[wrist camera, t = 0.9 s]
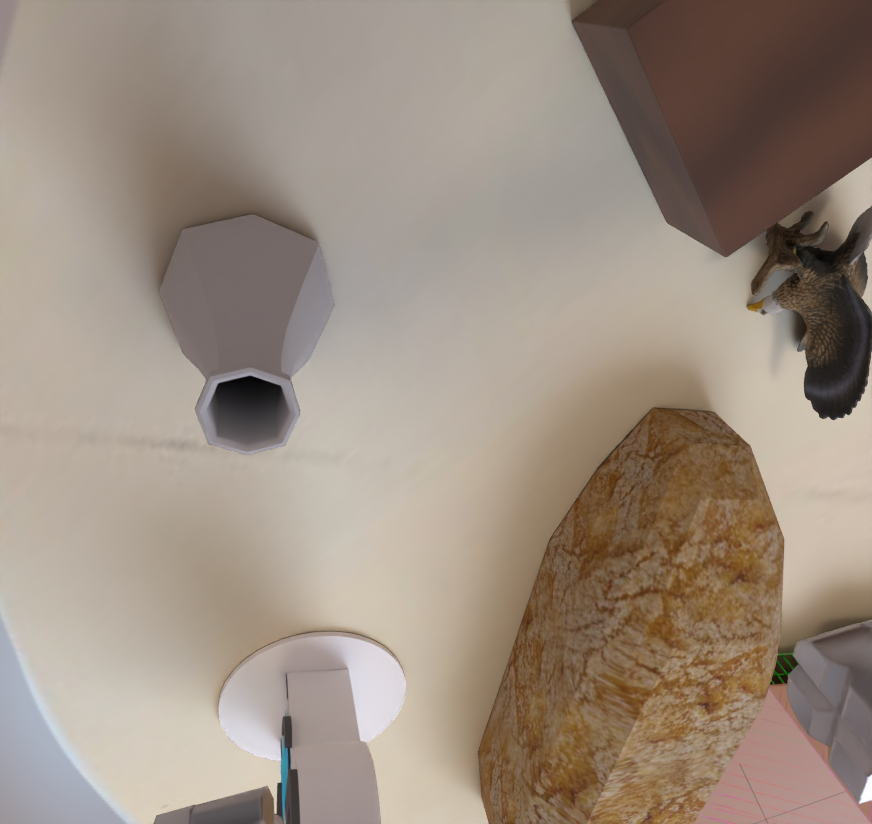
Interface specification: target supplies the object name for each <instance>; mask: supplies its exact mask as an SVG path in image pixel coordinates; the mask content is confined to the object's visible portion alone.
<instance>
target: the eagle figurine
mask: <svg viewBox="0 0 872 824" xmlns="http://www.w3.org/2000/svg"><path fill="white" fill-rule="evenodd" d="M813 214H814V212H813V211H808V212H806V213H804V215H803V216H802V218H801V220H800V222H799V223H796V224H794V225H793V226H792V227H790V228H788V229H787V228H785V227H782V226H781V225H779V224H778V223H776V224H774V225H773V226H771V227H770V228H768V229H767V235H766V241H767V243H766V244H767V246H768V248H769V256H768V257H767V259H766V261H765V262H764V264H763V265H762V267H761V269H760V270H759V272H758V273H757V275H756V276H755V278H754V279H753V281H752V283H751V289H752V294H753V295H758V294H759V292H760V290H761V288H762V287H763V286H764V285H765V283H766V282H767V280H768V278H769V276H770V274H771V273H772V272H773V271H775V270H780V269H786V270H789V271H790V272H796V273H794V274H793V275H792V276H791V277H790V278H788V279H787V280H786V281H785V282H784V283H782V284H781V285H780V286H779V287H778V289H777V290H775V291H774V292H773V293H772V294H771V295H769V296H767V297H765V298H764V299H762V300H761V301H760V302H758V303H755V304H752V305H748V306H747V308H748V310H751V311H756V312H760V313H761V314H762V315H769V314H774V313H777V312H781V311H785V310H790V309H792V310H796V311H797V312H799V313H800V314H801V315H802V317H803V319H804V321H805V323H806V325H807V331H806V333H805V335H804V336H803V338H802V341H801V342H800V344H799V346H798V349H797V351H798V352H801V351H802V350H803V349H804V350H805V354H806V359H807V364H808V367H807V369H806V372H805V378H804V393H805V397H806V398H807V399H808V400H810V401H811V403H812V407H813V409H814V410H815V411H816V412H818V414H819V417H820V418H822V419H825V418H827V417H830V418H831V419H832V420H835V419H837V418H843V417H844V416H845V414H847V415H850V414H851V413H852V408H855V407H856V406H857V402H858V401H860V400H861V396H862V394H863V393H864V392H865V387H866V386H867V383H868V376H869V365H870V359H871V352H872V312H871V310H870V309H869V307H868V306H867V305H866V303H865V302H864V300H863V299H862V296H863V294H864V291H865V288H866V284H867V279H868V276H867V263H866V258H865V255H864V251H865V250H866V249H867V248H868V246H869V243H870V240H871V238H872V206H871V207H870V208H869V209H867V210H866V211H865V212H864V213H862V214H861V215H860V216H859V217H858V218H857V220H856V221H855V223H854V225H853V226H852V228H851V230H850V232H849V235H848V237H847V239H846V241H845V242H844V243H843V244H842V245H841V246H840V247H839V248H838V249H837V250H836V251H834V252H832V251H825V250H821V249H820V248H817V247H816V248H814V247H813V246H814V245H817V244H819V243H821V242H823V241H824V237H825V235H826V233H827V231H828V227H829V224H828V222H824V224H823V225H822V226H821V228H820V229H819V231H817V232H815V233H812V234H808V235H804V234H801V233H800V231H801V230H802V229H803V228H804V227H805V226H807V225H808V224H809V223H810V221H811V219H812V217H813Z"/></svg>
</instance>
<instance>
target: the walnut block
mask: <svg viewBox="0 0 872 824" xmlns="http://www.w3.org/2000/svg"><path fill="white" fill-rule="evenodd" d="M572 23H573V25H574V27H575V30H576V32H577V34H578V36H579V38H580V40H581V42H582V44H583V46H584V49H585V51H586V53H587V55H588V57H589V59H590V61H591V63H592V65H593V68H594V70H595V72H596V74H597V76H598V78H599V80H600V82H601V84H602V87H603V89H604V91H605V93H606V95H607V97H608V99H609V101H610V103H611V106H612V108H613V110H614V112H615V114H616V116H617V118H618V120H619V122H620V124H621V127H622V129H623V131H624V133H625V135H626V137H627V139H628V141H629V143H630V146H631V148H632V150H633V152H634V154H635V156H636V158H637V160H638V162H639V165H640V167H641V169H642V171H643V173H644V175H645V177H646V179H647V181H648V184H649V186H650V188H651V190H652V192H653V194H654V196H655V198H656V200H657V203H658V205H659V207H660V209H661V211H662V213H663V215H664V217H665V219H666V222H667V223H668V224H670V225H671V226H673V227H675V228H677V229H678V230H680V231H682V232H683V233H685V234H687V235H688V236H690V237H692V238H694V239H695V240H697V241H699V242H700V243H702V244H704V245H705V246H707V247H709V248H710V249H712V250H714V251H716V252H717V253H719V254H721V255H722V256H724V257H728V256H729V255H731V254H732V253H733V252H735V251H736V250H738V249H739V248H741V247H742V246H744V245H745V244H747V243H748V242H749V241H751V240H752V239H754V238H755V237H757V236H758V235H760V234H761V233H763V232H764V231H765V230H767V229H768V228H770V227H771V226H773V225H774V224H776V223H777V222H779V221H780V220H781V219H783V218H784V217H786V216H787V215H789V214H790V213H792V212H793V211H795V210H796V209H797V208H799V207H800V206H802V205H803V204H805V203H806V202H808V201H809V200H811V199H812V198H813V197H815V196H816V195H818V194H819V193H821V192H822V191H824V190H825V189H827V188H828V187H829V186H831V185H832V184H834V183H835V182H837V181H838V180H840V179H841V178H843V177H844V176H845V175H847V174H848V173H850V172H851V171H853V170H854V169H856V168H857V167H859V166H860V165H861V164H863V163H864V162H866V161H867V160H869V159H870V158H872V0H599V1H597V2H596V3H595V4H593V5H592V6H591V7H590V8H588V9H587V10H586V11H584V12H583V13H582V14H580V15H579V16H578V17H576V18H575V19H574V20H573V21H572Z"/></svg>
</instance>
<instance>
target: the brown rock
mask: <svg viewBox="0 0 872 824" xmlns="http://www.w3.org/2000/svg"><path fill="white" fill-rule="evenodd" d="M783 562H784V537H783V535H782V532H781V529H780V526H779V524H778V521H777V518H776V515H775V513H774V510H773V507H772V504H771V502H770V499H769V496H768V493H767V490H766V488H765V485H764V482H763V479H762V477H761V474H760V471H759V468H758V466H757V463H756V460H755V457H754V455H753V452H752V449H751V446H750V445H749V444H748V443H746V442H745V441H744V440H743V439H742V438H741V437H740V436H739V435H738V434H737V433H736V432H735V431H734V430H733V429H732V428H730V427H729V426H728V425H727V424H726V423H725V422H724V421H723V420H722V419H721V418H720V417H719V416H718V415H717V414H716V413H714V412H704V411H690V410H676V409H661V408H653V409H652V410H651V411H650V412H649V413H648V415H647V416H646V417H645V418H644V419H643V420H642V421H641V422H640V423H639V424H638V426H637V427H636V428H635V429H634V430H633V431H632V432H631V433H630V434H629V435H628V437H627V438H626V439H625V440H624V441H623V442H622V443H621V444H620V445H619V446H618V447H617V449H616V450H615V451H614V452H613V453H612V454H611V455H610V456H609V457H608V458H607V460H606V461H605V462H604V463H603V464H602V465H601V466H600V467H599V468H598V470H597V471H596V473H595V474H594V476H593V477H592V479H591V480H590V481H589V483H588V484H587V486H586V487H585V489H584V490H583V492H582V493H581V495H580V496H579V498H578V499H577V501H576V502H575V504H574V505H573V506H572V508H571V509H570V511H569V512H568V514H567V515H566V517H565V518H564V520H563V521H562V523H561V524H560V526H559V527H558V529H557V530H556V531H555V533H554V534H553V536H552V537H551V539H550V541H549V543H548V546H547V549H546V552H545V555H544V558H543V561H542V564H541V567H540V570H539V573H538V576H537V579H536V582H535V585H534V588H533V591H532V594H531V597H530V600H529V603H528V606H527V609H526V612H525V615H524V618H523V620H522V623H521V626H520V629H519V632H518V635H517V638H516V641H515V644H514V647H513V650H512V653H511V656H510V659H509V662H508V665H507V668H506V671H505V674H504V677H503V680H502V683H501V686H500V689H499V692H498V695H497V697H496V700H495V703H494V706H493V709H492V712H491V715H490V718H489V721H488V724H487V727H486V730H485V733H484V736H483V739H482V742H481V745H480V748H479V751H478V756H479V769H480V781H481V794H482V801H483V804H484V808H485V811H486V815H487V819H488V822H489V824H694V822H695V820H696V819H697V817H698V815H699V814H700V812H701V810H702V809H703V807H704V805H705V803H706V802H707V800H708V798H709V797H710V795H711V793H712V792H713V790H714V788H715V787H716V785H717V783H718V782H719V780H720V778H721V777H722V775H723V773H724V772H725V770H726V768H727V767H728V765H729V763H730V761H731V760H732V758H733V756H734V755H735V753H736V751H737V750H738V748H739V746H740V745H741V743H742V741H743V740H744V738H745V736H746V735H747V733H748V731H749V730H750V728H751V726H752V725H753V723H754V721H755V719H756V718H757V716H758V714H759V713H760V711H761V709H762V708H763V705H764V702H765V698H766V695H767V692H768V689H769V686H770V682H771V679H772V676H773V673H774V669H775V666H776V661H777V654H778V647H779V640H780V633H781V617H782V589H783Z"/></svg>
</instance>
